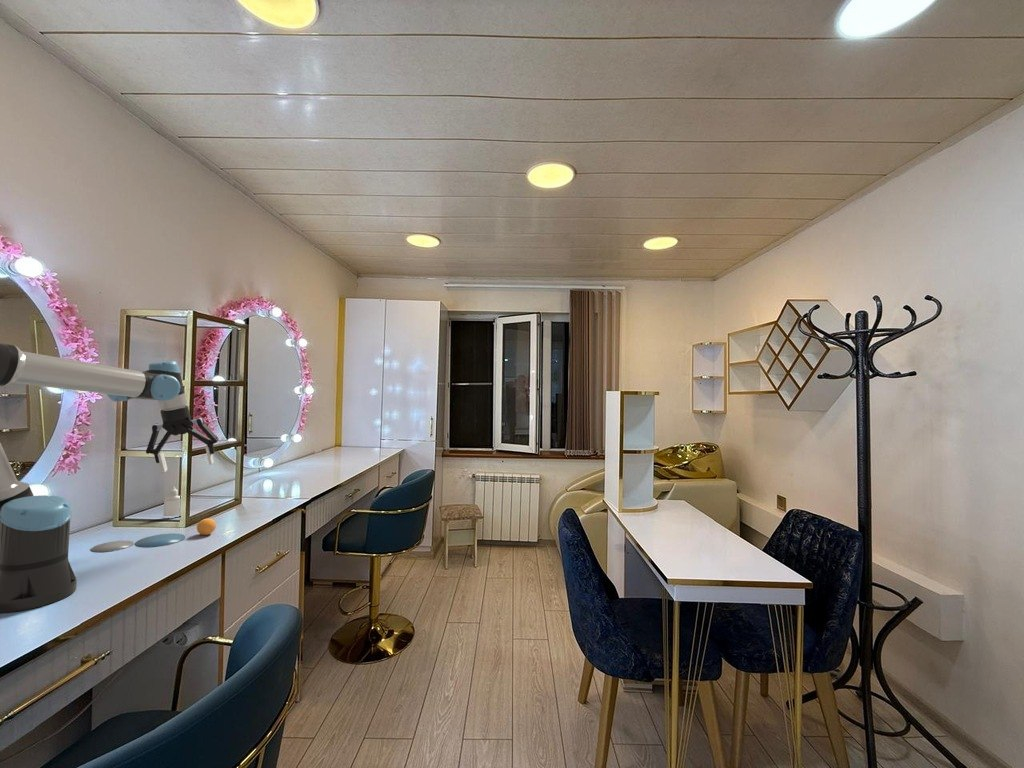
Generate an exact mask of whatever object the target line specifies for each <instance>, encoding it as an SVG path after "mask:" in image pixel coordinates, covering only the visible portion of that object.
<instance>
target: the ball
mask: <svg viewBox="0 0 1024 768" xmlns="http://www.w3.org/2000/svg"><path fill="white" fill-rule="evenodd" d="M216 526H217V524H216V521H215V520H214V519H212V518H204V519H202V520H200V521H199V522H198V523H197V525H196V531H197V532H198V534H200V535H202V536H207V535H210V534H212V533H213V532H215V530H216V528H217V527H216Z"/></svg>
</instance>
